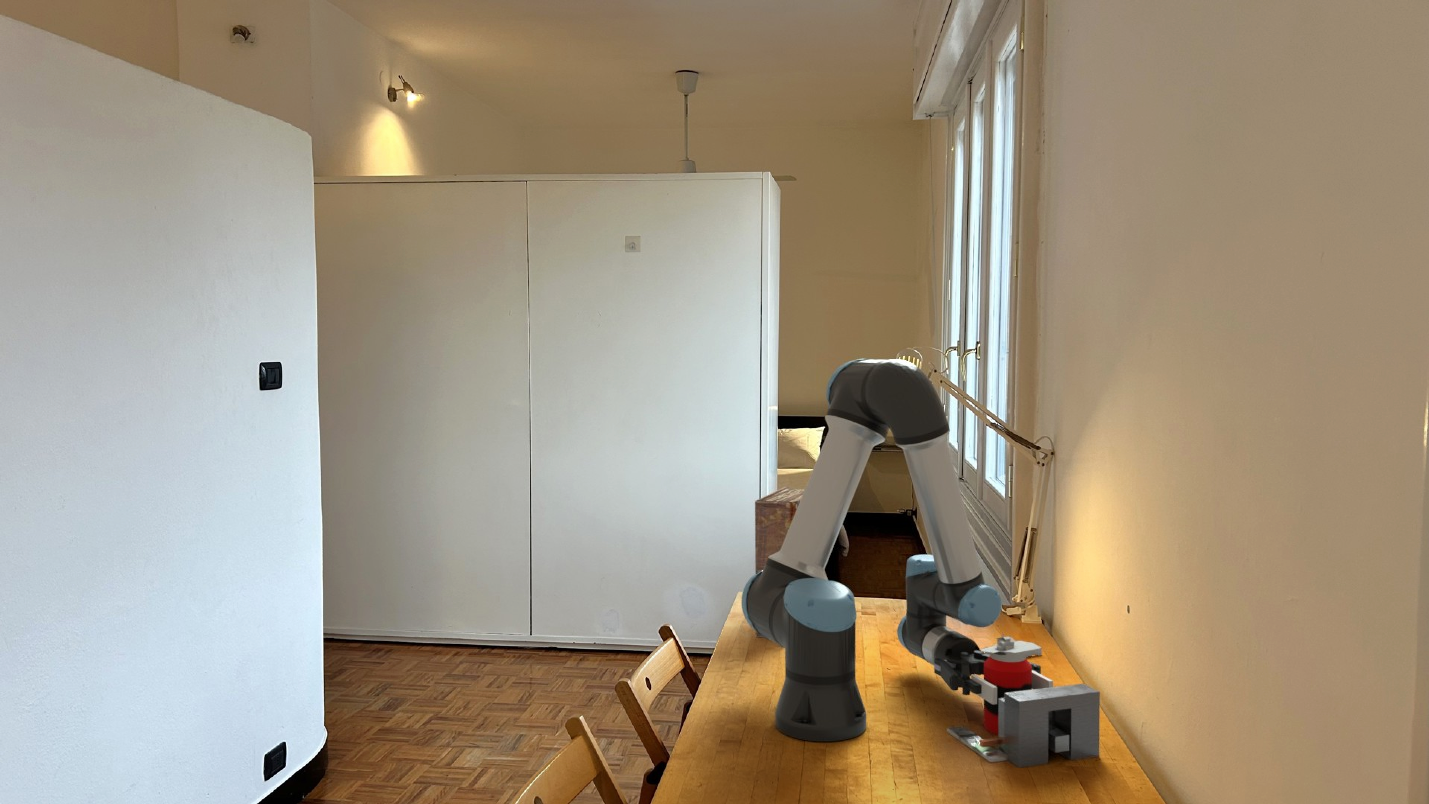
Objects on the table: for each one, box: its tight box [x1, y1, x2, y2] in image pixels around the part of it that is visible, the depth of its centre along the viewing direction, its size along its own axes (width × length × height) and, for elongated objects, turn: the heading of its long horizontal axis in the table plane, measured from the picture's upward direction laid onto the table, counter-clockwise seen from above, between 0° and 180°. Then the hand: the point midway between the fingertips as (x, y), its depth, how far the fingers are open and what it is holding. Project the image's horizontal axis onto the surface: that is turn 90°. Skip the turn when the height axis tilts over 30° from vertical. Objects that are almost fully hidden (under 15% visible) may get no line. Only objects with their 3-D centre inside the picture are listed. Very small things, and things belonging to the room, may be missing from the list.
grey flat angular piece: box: [980, 634, 1043, 658], centre depth 208 cm, size 12×11×4 cm
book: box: [754, 485, 805, 638], centre depth 230 cm, size 25×9×30 cm, turn 160°
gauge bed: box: [946, 683, 1101, 768], centre depth 159 cm, size 17×16×10 cm
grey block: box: [980, 698, 1069, 753], centre depth 154 cm, size 17×7×8 cm, turn 106°
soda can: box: [983, 652, 1033, 736], centre depth 165 cm, size 8×8×12 cm
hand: (1023, 692), depth 161 cm, fingers open, 9 cm apart
